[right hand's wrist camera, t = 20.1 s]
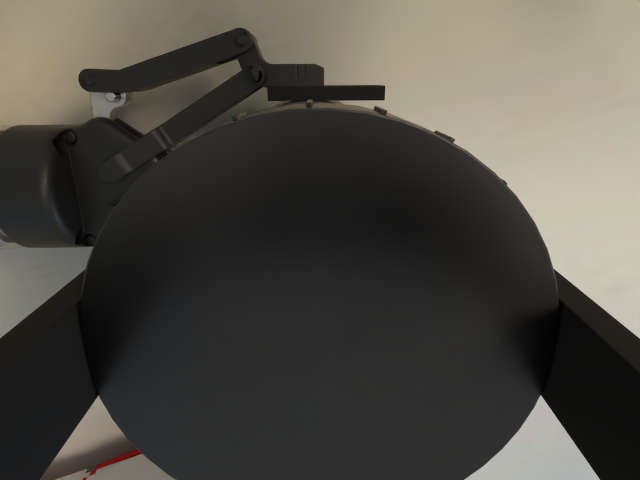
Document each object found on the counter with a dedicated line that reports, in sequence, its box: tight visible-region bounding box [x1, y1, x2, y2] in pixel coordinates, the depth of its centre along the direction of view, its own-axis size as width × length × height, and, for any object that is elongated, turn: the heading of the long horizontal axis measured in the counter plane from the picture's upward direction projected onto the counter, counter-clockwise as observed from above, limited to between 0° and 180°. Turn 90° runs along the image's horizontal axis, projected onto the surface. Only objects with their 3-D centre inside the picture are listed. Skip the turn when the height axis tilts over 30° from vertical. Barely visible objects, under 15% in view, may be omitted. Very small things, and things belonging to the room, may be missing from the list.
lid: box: [80, 99, 559, 480], centre depth 11 cm, size 12×12×2 cm
